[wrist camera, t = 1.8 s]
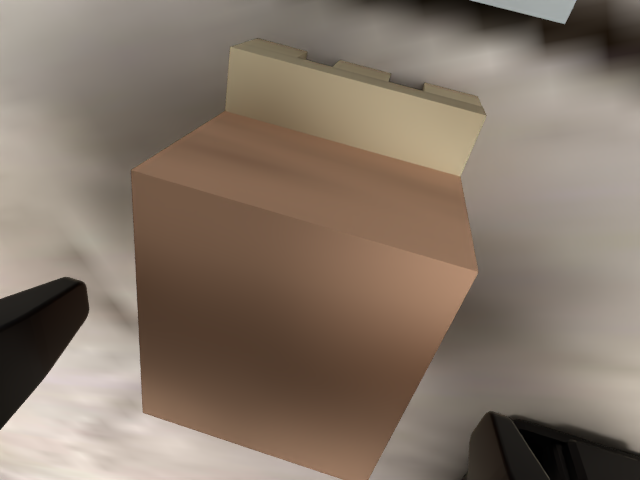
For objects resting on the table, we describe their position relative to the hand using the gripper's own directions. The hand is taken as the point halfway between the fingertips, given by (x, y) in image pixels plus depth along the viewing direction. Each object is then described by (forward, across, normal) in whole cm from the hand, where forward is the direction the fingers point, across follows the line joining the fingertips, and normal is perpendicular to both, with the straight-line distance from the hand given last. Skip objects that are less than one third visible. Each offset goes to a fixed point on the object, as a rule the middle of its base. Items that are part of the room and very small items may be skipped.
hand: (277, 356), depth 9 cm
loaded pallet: (+6, 0, 0) cm, 6 cm away
